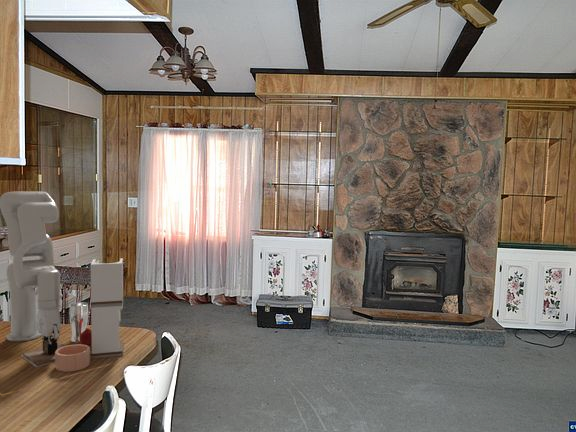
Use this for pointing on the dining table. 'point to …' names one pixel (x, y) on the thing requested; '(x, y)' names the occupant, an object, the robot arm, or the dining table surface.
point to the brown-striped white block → (106, 308)
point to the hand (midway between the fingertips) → (50, 351)
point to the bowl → (72, 357)
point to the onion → (86, 337)
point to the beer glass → (78, 319)
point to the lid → (41, 355)
